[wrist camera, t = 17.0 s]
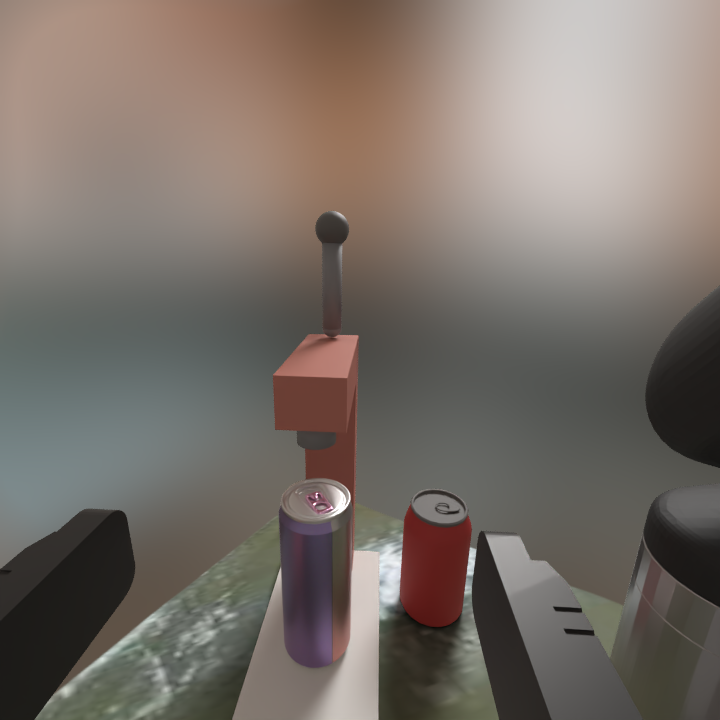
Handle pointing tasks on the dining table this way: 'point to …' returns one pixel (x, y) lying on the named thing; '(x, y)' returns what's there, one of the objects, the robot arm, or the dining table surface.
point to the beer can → (435, 557)
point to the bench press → (338, 462)
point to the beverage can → (316, 570)
